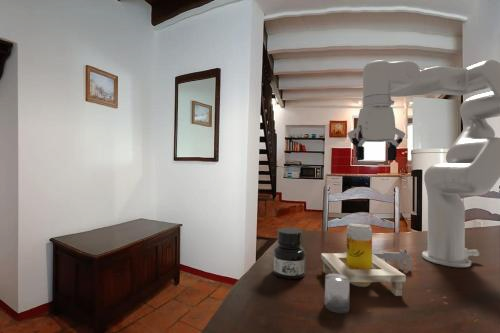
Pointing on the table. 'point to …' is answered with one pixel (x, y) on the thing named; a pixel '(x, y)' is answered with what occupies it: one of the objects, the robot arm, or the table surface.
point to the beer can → (359, 248)
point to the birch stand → (364, 271)
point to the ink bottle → (289, 254)
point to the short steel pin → (337, 293)
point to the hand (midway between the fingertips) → (376, 160)
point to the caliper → (396, 258)
